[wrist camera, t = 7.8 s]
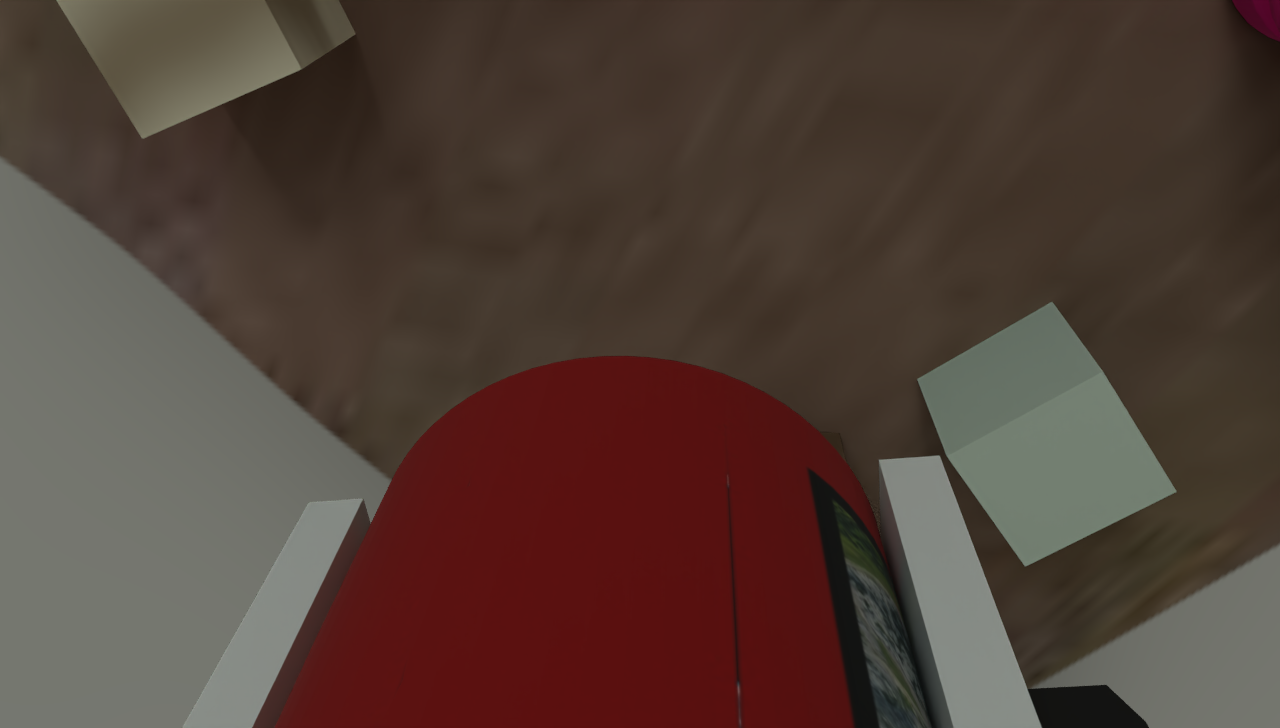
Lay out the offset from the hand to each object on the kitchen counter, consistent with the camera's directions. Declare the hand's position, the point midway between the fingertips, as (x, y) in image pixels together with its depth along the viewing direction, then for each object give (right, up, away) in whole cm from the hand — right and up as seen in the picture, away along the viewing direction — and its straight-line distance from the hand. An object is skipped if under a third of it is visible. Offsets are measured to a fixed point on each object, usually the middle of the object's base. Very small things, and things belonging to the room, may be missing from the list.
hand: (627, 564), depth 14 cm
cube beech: (-12, +14, +17) cm, 25 cm away
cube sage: (+13, +2, +22) cm, 26 cm away
